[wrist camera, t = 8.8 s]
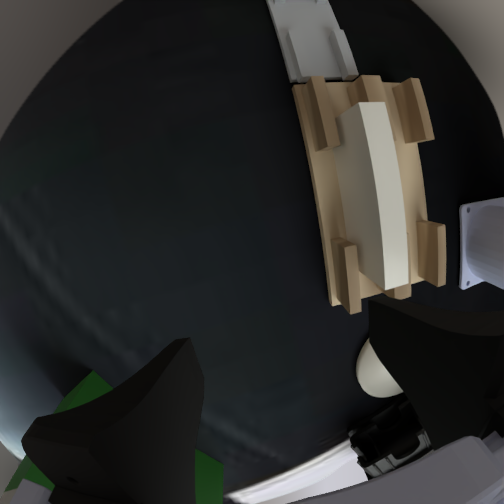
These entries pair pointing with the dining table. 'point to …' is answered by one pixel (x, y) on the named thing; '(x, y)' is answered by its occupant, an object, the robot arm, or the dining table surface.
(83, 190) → the dining table surface
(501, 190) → the dining table surface
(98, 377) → the hardback book
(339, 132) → the white curved panel
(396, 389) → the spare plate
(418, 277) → the dish rack
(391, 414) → the end cap
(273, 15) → the plate stand
